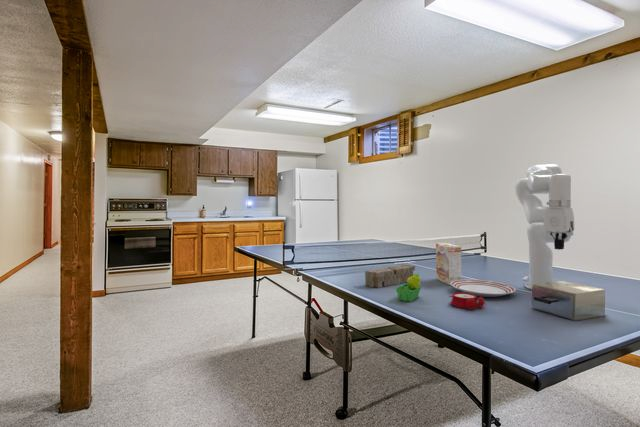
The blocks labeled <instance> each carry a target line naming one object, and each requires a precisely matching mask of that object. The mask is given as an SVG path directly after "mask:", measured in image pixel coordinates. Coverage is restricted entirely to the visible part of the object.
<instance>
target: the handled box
mask: <svg viewBox="0 0 640 427" xmlns="http://www.w3.org/2000/svg"><path fill="white" fill-rule="evenodd" d="M531 307H532V308H533V307H535V308H538V309H542V310H545V311H548V312H552V313H555V314H559V315H562V316H565V317H569V318H573V316H574V296H573V295H570V294H566V293H561V292H557V291H553V290H549V289H544V288H540V287H532V289H531Z"/></svg>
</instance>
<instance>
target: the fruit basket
mask: <svg viewBox="0 0 640 427" xmlns="http://www.w3.org/2000/svg"><path fill="white" fill-rule="evenodd" d="M420 284H421V277H420V274H418V273H413V276H411V277H409V278H408V279H407V282H406V283H405V284H404V283H403V284H401V285H400V286H397V287H396V288H395V291H396V294H397V297H398V300H399V301H402V302H412V301H415V300H416V299H418V298H419V294H420V292H421V288H422V286H421V285H420Z"/></svg>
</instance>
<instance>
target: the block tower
mask: <svg viewBox="0 0 640 427" xmlns="http://www.w3.org/2000/svg"><path fill="white" fill-rule="evenodd" d="M414 271H416V265H412V264H405V263H401V264H399V265H392V266H388V267H381V268H375V269H374V268H373V269H368V270H365V271H364V276H365V277H364V278H365V286H366V287H369V288H378V289H379V288H383V287H389V286H393V285H398V284H402V283H403V284H404V283H407V279H408V278H409V277H411V276H413V275H414Z"/></svg>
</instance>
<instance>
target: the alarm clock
mask: <svg viewBox="0 0 640 427" xmlns="http://www.w3.org/2000/svg"><path fill="white" fill-rule="evenodd" d="M449 297H450V298H451V301H450V304H451V305H452V306H453V307H458V308H462V309H467V310H469V311H473V310H475V309H476V308H478V309H479V308H480V309H481V308H483V307H486V306H487V305H488V304H487V303H486V302H485V299H484V297H481V296H476V295H474V294H471V293H464V292H462V291H459V292H454V293H452V295H449Z"/></svg>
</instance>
